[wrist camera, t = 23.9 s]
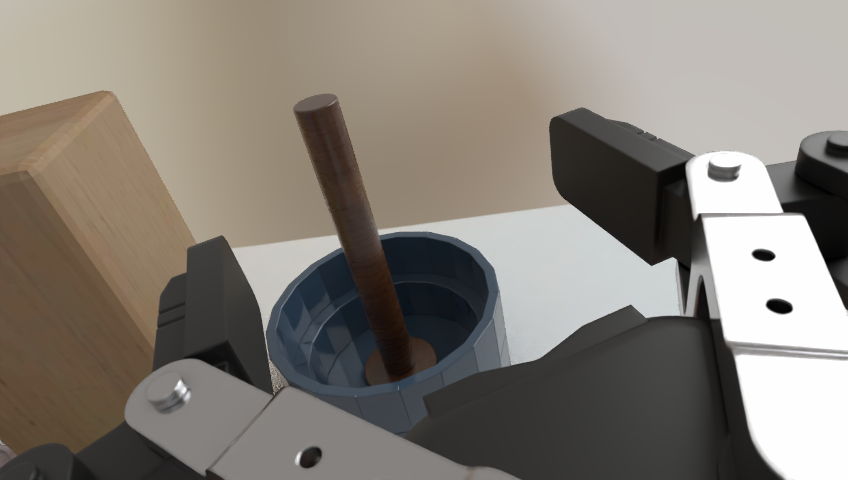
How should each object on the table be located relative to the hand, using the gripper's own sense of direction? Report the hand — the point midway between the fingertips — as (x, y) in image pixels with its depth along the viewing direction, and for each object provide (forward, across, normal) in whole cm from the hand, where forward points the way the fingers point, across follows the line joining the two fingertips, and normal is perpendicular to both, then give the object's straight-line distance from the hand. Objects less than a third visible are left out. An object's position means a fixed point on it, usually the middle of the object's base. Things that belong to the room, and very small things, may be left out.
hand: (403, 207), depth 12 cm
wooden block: (+18, +15, +20) cm, 31 cm away
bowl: (+12, 0, +20) cm, 24 cm away
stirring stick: (+12, 0, +19) cm, 23 cm away
